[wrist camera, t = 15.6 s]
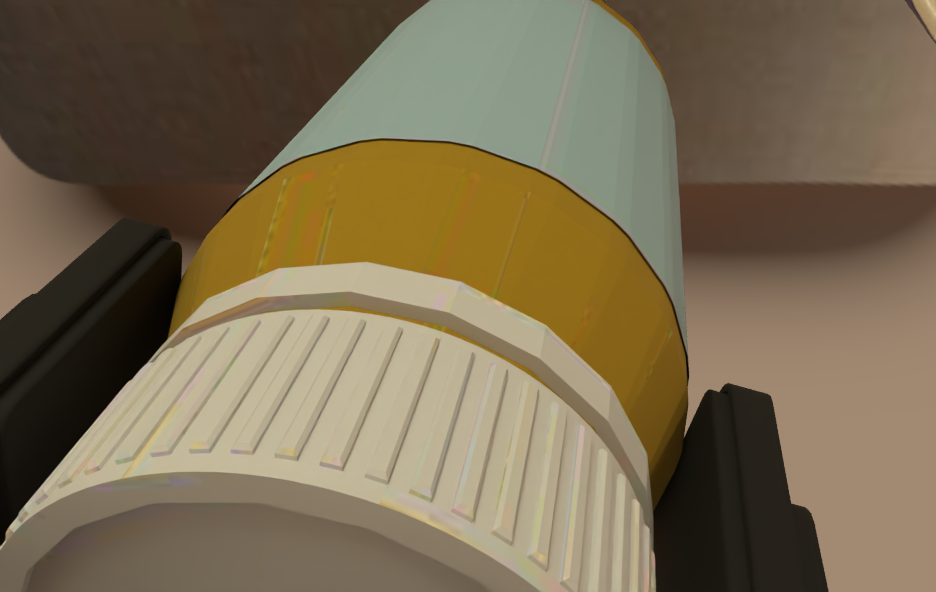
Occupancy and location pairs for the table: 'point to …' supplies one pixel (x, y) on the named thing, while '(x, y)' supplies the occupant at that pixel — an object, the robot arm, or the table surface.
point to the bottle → (411, 341)
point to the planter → (925, 14)
